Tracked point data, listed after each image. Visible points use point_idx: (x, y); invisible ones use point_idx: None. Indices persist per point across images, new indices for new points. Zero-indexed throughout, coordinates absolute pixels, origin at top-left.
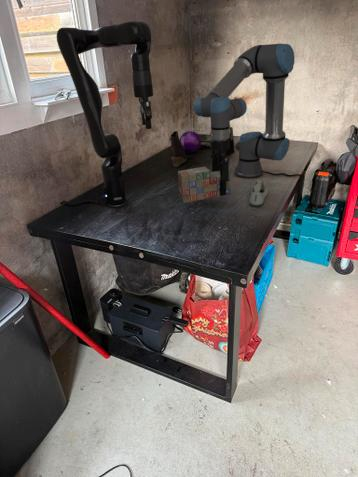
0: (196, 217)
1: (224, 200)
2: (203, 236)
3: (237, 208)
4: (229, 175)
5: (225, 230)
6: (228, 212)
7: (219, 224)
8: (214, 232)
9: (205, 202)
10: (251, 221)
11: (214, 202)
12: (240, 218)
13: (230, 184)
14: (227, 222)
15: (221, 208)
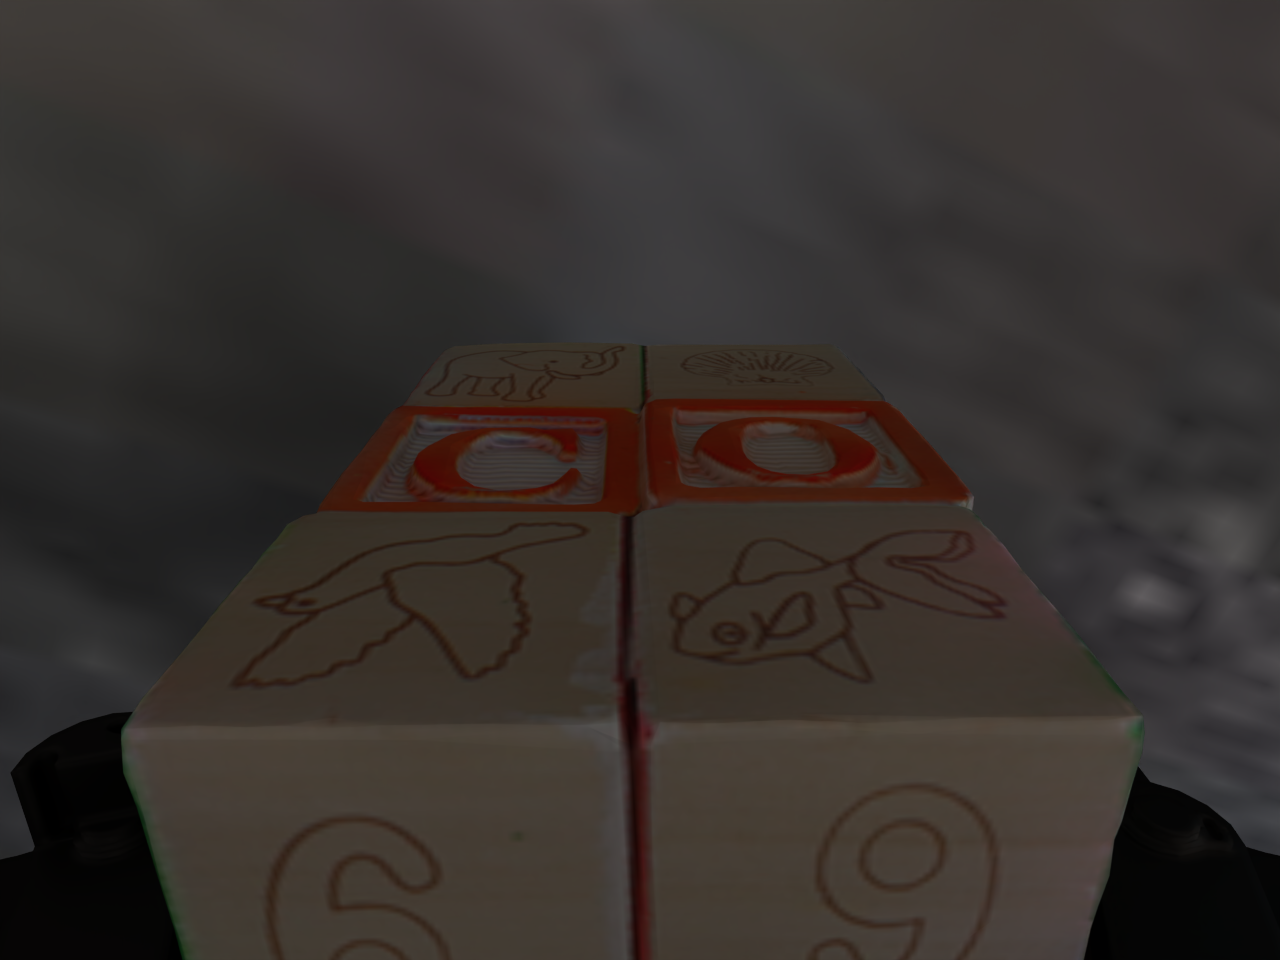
0: None
1: (193, 141)
2: (1236, 832)
3: (640, 41)
4: (1095, 724)
5: (1267, 553)
6: (737, 281)
7: (1059, 565)
8: (1227, 696)
9: (214, 502)
10: (1260, 28)
11: (248, 360)
12: (1050, 174)
13: (926, 443)
14: (1064, 437)
15: (537, 335)
